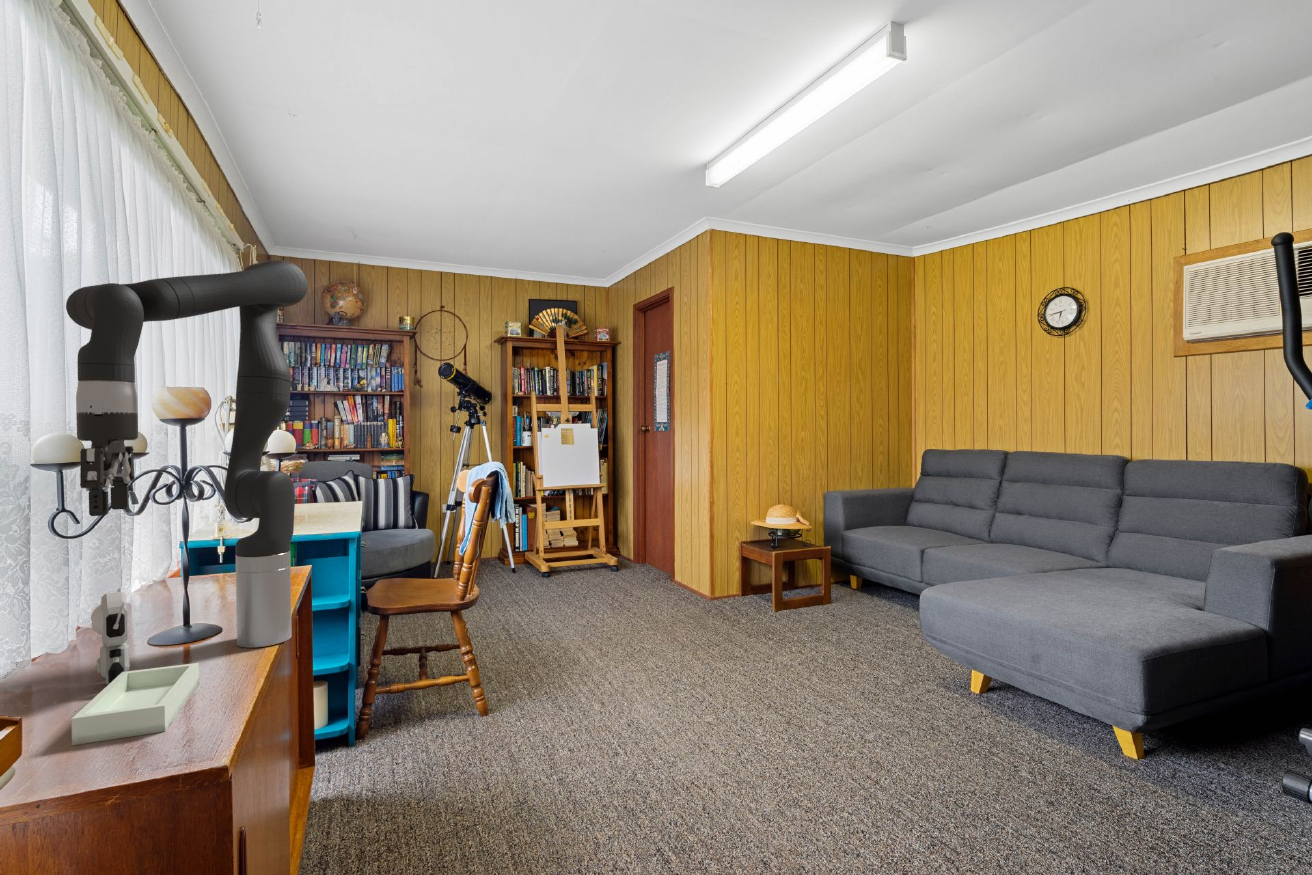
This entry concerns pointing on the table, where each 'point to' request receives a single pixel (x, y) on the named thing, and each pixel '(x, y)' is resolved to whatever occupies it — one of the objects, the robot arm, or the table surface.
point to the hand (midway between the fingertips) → (109, 512)
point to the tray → (136, 704)
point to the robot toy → (112, 635)
